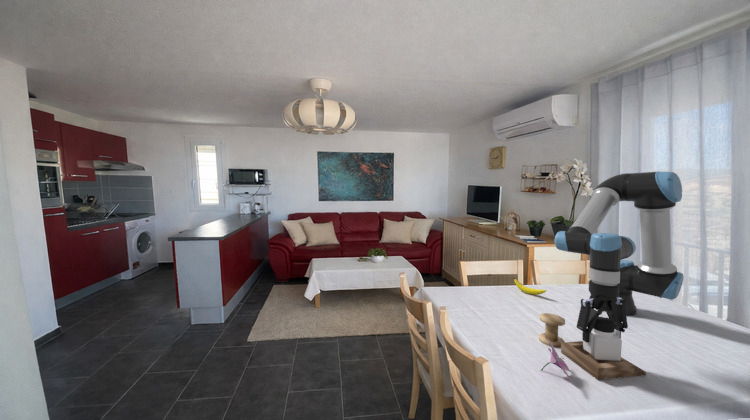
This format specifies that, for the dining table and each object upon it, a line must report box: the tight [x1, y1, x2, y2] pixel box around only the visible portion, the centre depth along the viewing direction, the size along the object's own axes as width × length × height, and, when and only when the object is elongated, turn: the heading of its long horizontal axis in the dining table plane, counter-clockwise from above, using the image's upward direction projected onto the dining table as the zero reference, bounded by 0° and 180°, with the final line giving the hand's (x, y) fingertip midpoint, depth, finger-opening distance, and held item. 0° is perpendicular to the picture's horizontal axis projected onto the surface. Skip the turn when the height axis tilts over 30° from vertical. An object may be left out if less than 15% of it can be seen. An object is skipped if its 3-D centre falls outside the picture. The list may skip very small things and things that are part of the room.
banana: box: [512, 277, 547, 295], centre depth 149 cm, size 3×19×6 cm, turn 26°
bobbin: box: [538, 312, 566, 348], centre depth 102 cm, size 8×8×9 cm
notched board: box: [560, 340, 647, 381], centre depth 89 cm, size 16×14×4 cm
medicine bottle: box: [582, 315, 623, 361], centre depth 89 cm, size 7×7×12 cm
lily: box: [540, 336, 572, 382], centre depth 84 cm, size 12×12×10 cm
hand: (601, 349), depth 89 cm, fingers open, 9 cm apart
